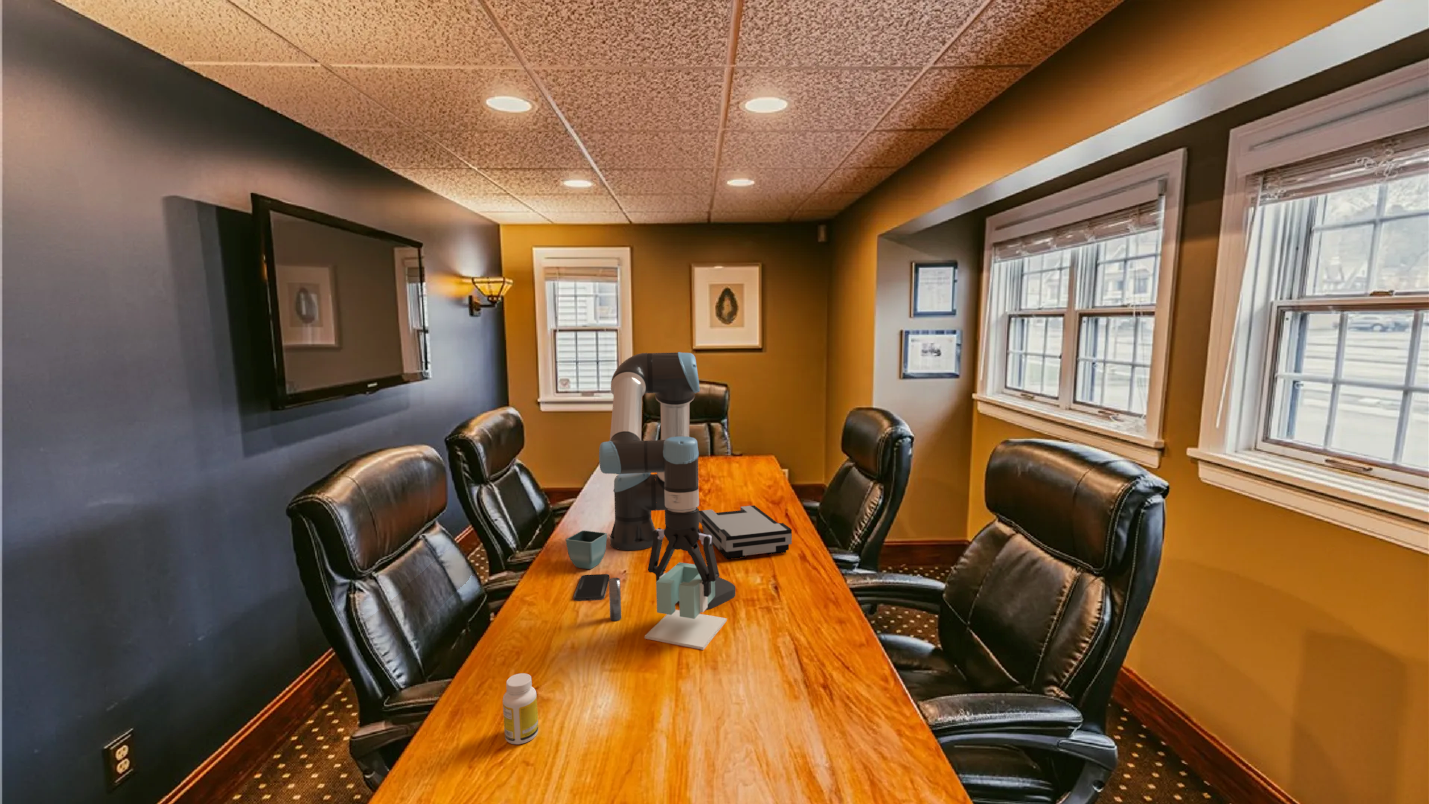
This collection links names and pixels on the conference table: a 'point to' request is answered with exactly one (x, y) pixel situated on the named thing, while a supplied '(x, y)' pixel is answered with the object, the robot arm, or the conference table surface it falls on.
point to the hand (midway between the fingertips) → (683, 606)
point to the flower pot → (586, 548)
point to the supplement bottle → (520, 709)
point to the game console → (745, 532)
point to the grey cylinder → (615, 599)
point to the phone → (592, 587)
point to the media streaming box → (721, 592)
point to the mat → (686, 630)
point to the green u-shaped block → (681, 591)
